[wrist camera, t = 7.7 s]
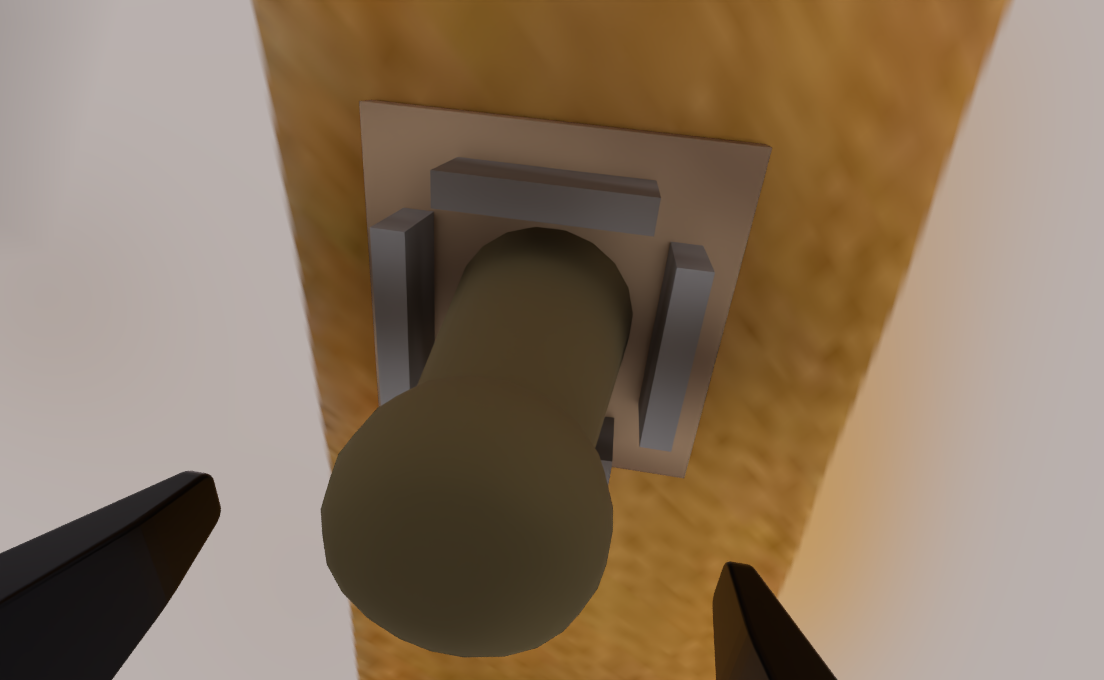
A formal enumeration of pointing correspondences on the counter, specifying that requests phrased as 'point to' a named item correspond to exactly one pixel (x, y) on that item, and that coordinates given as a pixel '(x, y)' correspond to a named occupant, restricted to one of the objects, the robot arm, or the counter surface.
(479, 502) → the cork
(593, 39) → the counter surface
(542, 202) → the clip holder
